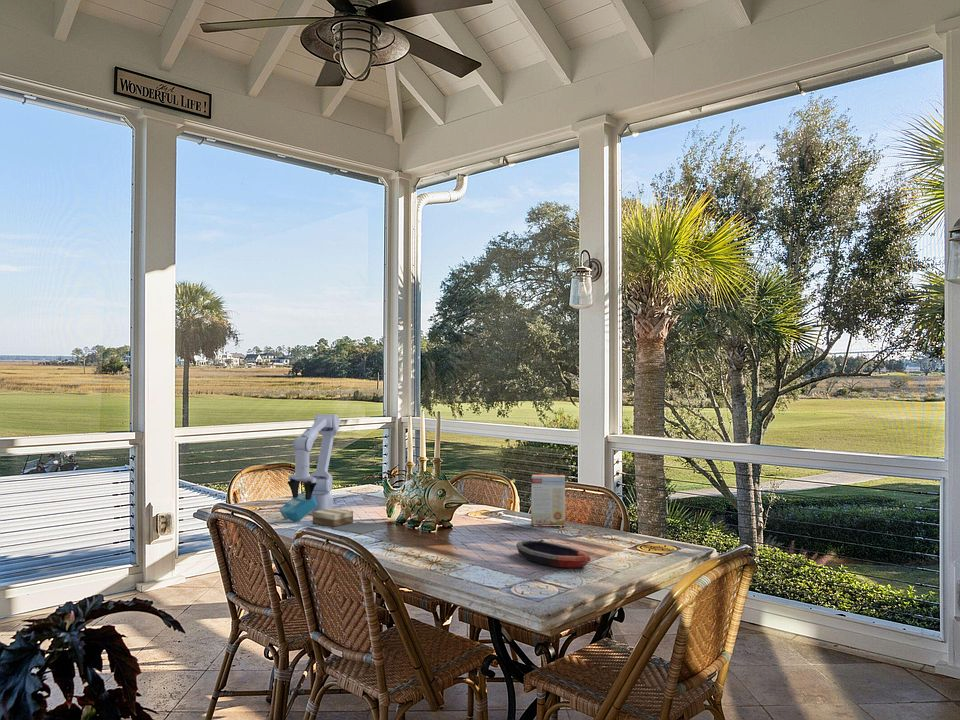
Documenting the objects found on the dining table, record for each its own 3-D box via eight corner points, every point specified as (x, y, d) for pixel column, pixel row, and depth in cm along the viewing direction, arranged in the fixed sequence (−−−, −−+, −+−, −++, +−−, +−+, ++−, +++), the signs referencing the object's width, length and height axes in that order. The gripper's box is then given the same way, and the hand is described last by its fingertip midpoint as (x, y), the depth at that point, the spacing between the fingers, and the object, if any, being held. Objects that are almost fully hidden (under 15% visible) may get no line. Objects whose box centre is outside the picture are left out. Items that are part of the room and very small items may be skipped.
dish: (536, 549, 265) (536, 535, 265) (602, 567, 241) (602, 552, 241) (504, 556, 255) (504, 541, 255) (569, 575, 231) (570, 559, 231)
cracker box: (564, 524, 309) (565, 474, 310) (564, 527, 303) (565, 476, 304) (531, 523, 311) (531, 473, 311) (530, 526, 305) (531, 475, 305)
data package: (277, 509, 312) (299, 492, 319) (282, 518, 313) (303, 500, 321) (292, 513, 303) (314, 496, 310) (297, 522, 305) (319, 504, 312)
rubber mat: (357, 522, 307) (357, 521, 307) (387, 527, 298) (387, 526, 298) (330, 528, 293) (330, 528, 293) (361, 534, 285) (361, 533, 285)
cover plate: (331, 512, 312) (331, 507, 312) (353, 515, 305) (353, 511, 305) (312, 516, 302) (312, 511, 302) (334, 520, 296) (334, 515, 296)
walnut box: (331, 519, 312) (331, 512, 312) (352, 523, 305) (353, 515, 305) (312, 524, 302) (312, 516, 302) (334, 527, 296) (334, 520, 296)
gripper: (282, 465, 308) (282, 498, 308) (307, 468, 300) (306, 501, 300) (295, 463, 314) (295, 495, 314) (320, 466, 306) (319, 499, 306)
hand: (301, 498), depth 307 cm, fingers open, 7 cm apart
